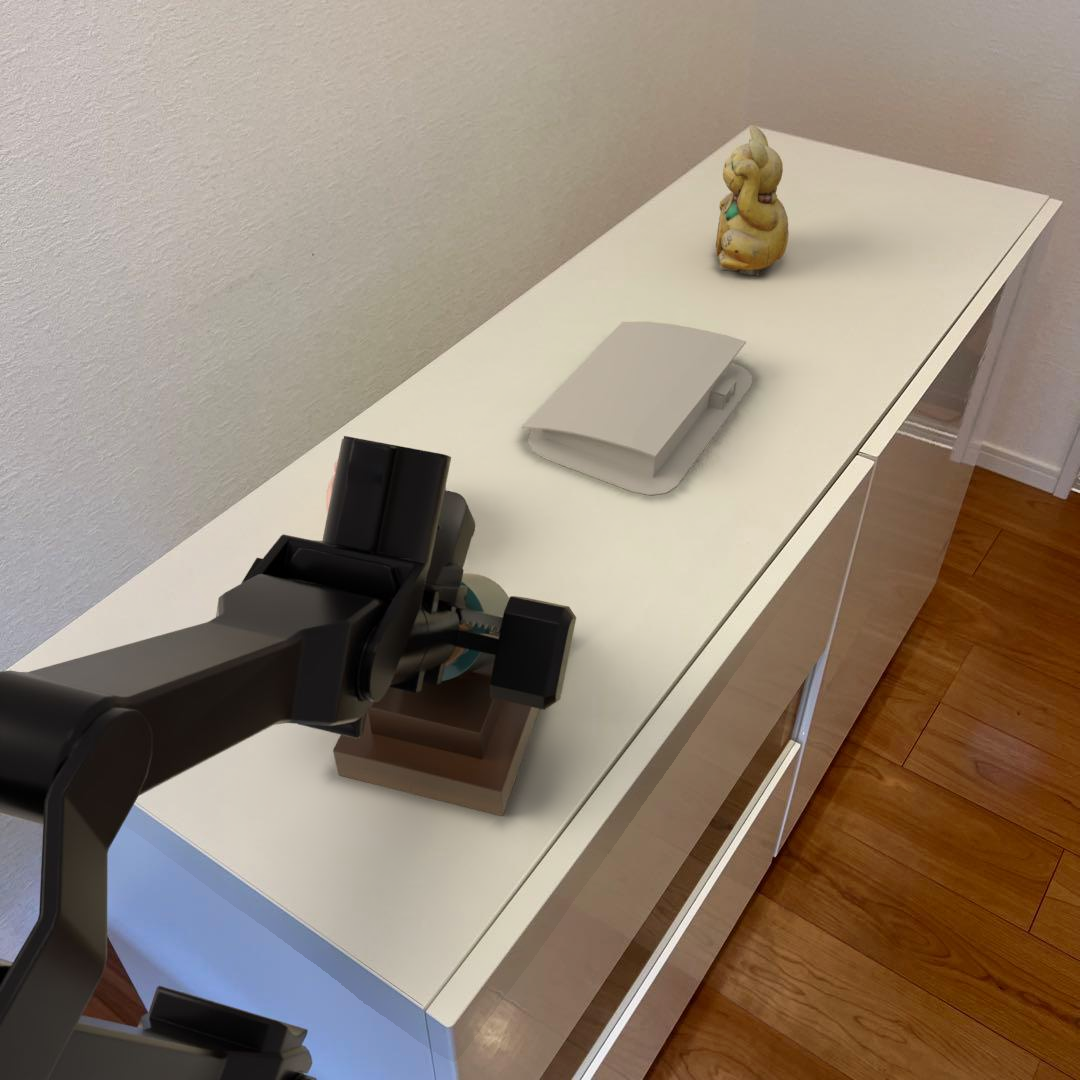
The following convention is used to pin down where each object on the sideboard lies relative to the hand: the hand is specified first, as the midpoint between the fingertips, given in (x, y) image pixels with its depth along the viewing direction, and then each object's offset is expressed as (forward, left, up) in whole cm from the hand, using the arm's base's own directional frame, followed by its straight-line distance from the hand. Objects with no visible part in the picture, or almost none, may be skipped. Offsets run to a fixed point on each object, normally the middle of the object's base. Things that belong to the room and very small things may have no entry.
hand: (454, 621), depth 74 cm
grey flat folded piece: (+38, -6, -8) cm, 40 cm away
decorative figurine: (+69, -12, -8) cm, 71 cm away
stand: (-1, 0, -8) cm, 8 cm away
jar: (-1, 0, +1) cm, 1 cm away
